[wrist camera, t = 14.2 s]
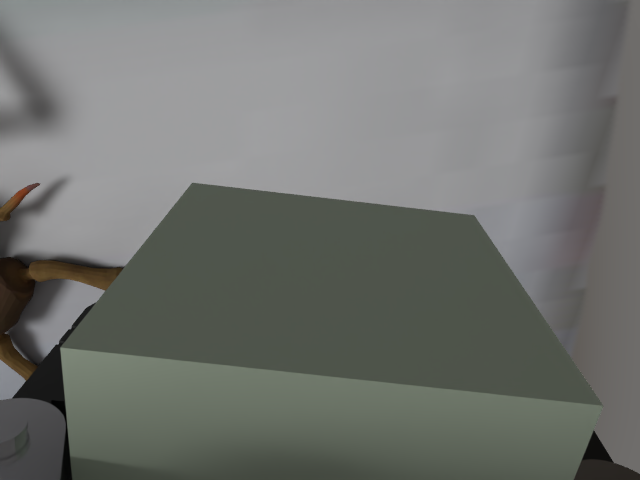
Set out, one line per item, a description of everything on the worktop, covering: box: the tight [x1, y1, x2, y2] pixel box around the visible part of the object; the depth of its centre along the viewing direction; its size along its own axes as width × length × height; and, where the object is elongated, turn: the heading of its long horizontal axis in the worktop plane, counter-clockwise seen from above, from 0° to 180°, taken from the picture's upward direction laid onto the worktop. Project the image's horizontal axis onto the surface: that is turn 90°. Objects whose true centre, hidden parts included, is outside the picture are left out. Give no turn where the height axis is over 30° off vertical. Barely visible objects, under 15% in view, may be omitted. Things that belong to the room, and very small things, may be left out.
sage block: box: [60, 183, 603, 480], centre depth 8 cm, size 5×5×5 cm
